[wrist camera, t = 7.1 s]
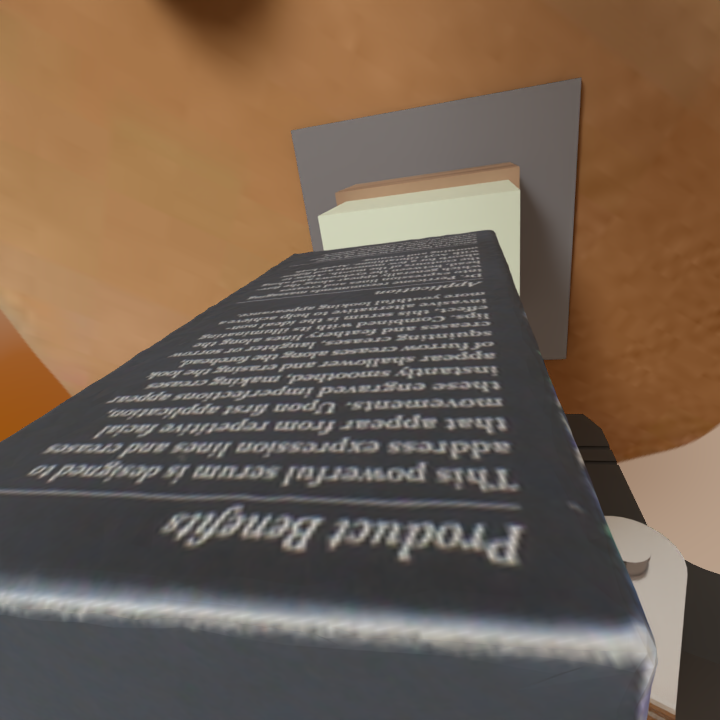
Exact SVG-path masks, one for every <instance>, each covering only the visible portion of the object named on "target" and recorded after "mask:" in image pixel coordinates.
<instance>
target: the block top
mask: <svg viewBox="0 0 720 720" xmlns="http://www.w3.org/2000/svg"><path fill="white" fill-rule="evenodd" d="M318 221H319V226H320V232H321V237H322V243H323V249H324V251H325V250H334V249H341V248H349V247H358V246H364V245H374V244H382V243H389V242H397V241H405V240H411V239H422V238H428V237H437V236H444V235H451V234H461V233H468V232H474V231H481V230H493V231H494V232H495V233H496V236H497V239H498V242H499V244H500V247H501V249H502V251H503V254H504V257H505V258H506V262H507V263H508V265H509V269H510V272H511V275H512V278H513V281H514V284H515V287H516V289H517V292H518V294H519V296H520V189H518V188H517V187H516V186H515V185H514V184H513V183H512V182H510V181H509V180H502V181H495V182H487V183H480V184H473V185H465V186H458V187H450V188H443V189H436V190H428V191H421V192H414V193H406V194H399V195H391V196H384V197H377V198H369V199H362V200H355V201H347V202H344V203H342V204H340V205H338V206H336V207H335V208H333V209H331V210H329V211H327V212H325V213H323V214H321V215H319V216H318Z"/></svg>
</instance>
